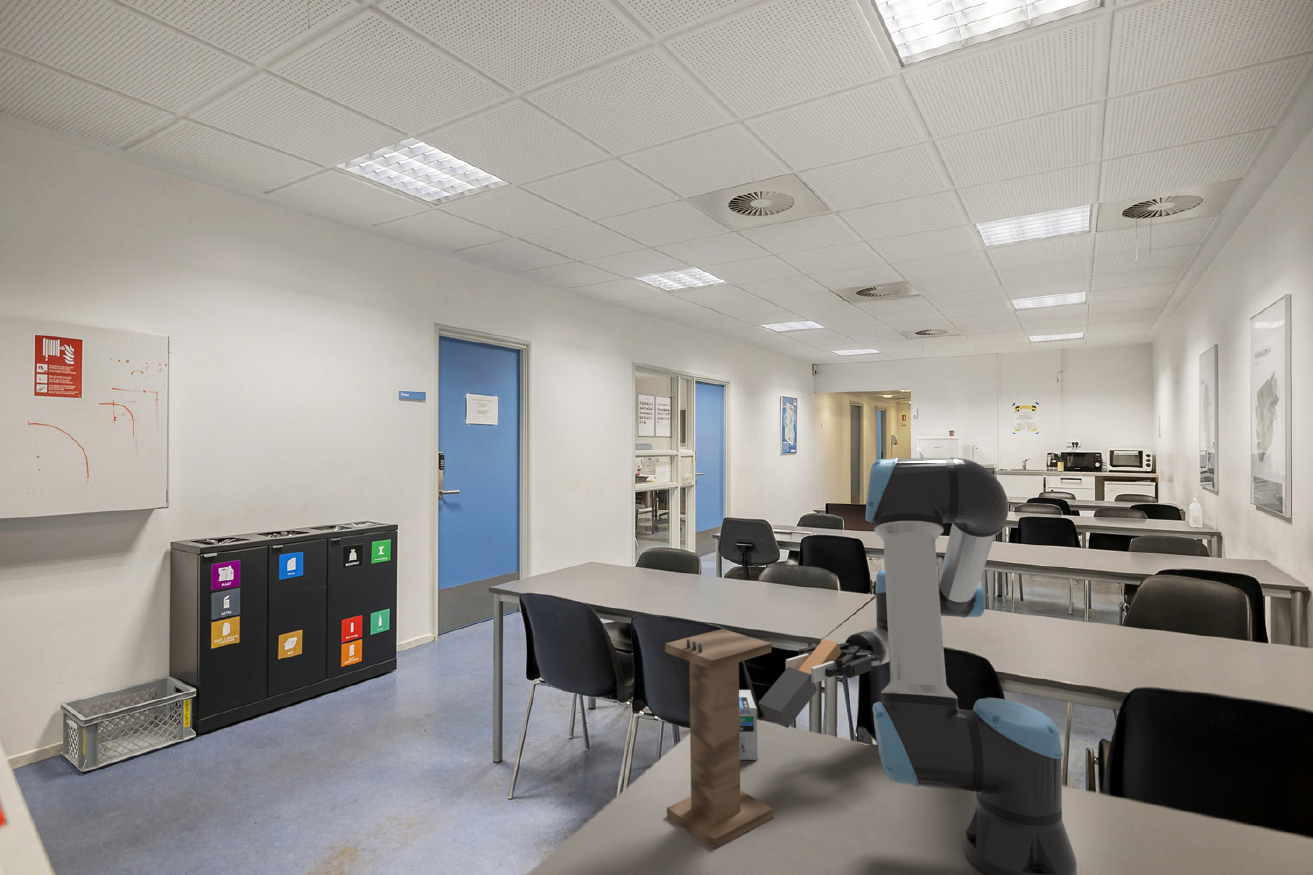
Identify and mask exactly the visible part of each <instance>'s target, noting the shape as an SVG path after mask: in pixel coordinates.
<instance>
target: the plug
mask: <svg viewBox="0 0 1313 875" xmlns="http://www.w3.org/2000/svg"><path fill="white" fill-rule="evenodd" d="M817 645H818V646H817V648H816V649H815V650H814V651H813V652H812V654H811V655H810V656H809V657H808V659H807V660H806V661H805V662H804V663H803V665H802V666H801V667H800V668H799V670H796V669H793V668H790V667H788V668H787V669H786V668H785V670H784V672H783V673H782V674H781V675H780V676H779V677H778V678H777V680H776V681H775V682H774V683H773V685H772V686H770V688H769V689H768V691H767V692H766V693H765V694H764V695H763V697H762V698H761V699H760V700H759V701H758V705H759V708H760V710H761V713H762V714H763V717H764V719H765V720H768V721H770V722H772V723H775V724H777V725H780V726H781V727H784V728H787V729H789V728H790V727H791V725H792V724H793V722H794V721H795V720H796V718H797V717H798V716H799V715H800V713H801V712H802V711H803V710H804V709H805V707H806V706H807V704H808V703H809V702H810V700H811V699H812V698H813V696H815V694H816V693H817V692H818V689H817V685H818V683H819V682H816V683H813V682H811V668H812V667H815V666H818V665H821V664H824V663H827V662H830V661H834V662H835V660H836V658H838V657H839V655H840V654H841V653H842V652H841V650H840V647H839V645H840V644H839V642H837V641H832V640H828V639H822V640H821V642H820V643H819V644H817Z"/></svg>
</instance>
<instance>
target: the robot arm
mask: <svg viewBox="0 0 1313 875" xmlns="http://www.w3.org/2000/svg"><path fill="white" fill-rule="evenodd" d="M868 479H869V480H868V489H867V496H866V507H865V521H866V522H869V523H871V524H872V523H873V526H874V527H873V528H874V533H875V534H876V535H877V536H878V537H879V538H880V539H881V540H882V541H883V552H884V555H883V557H884V569H881V570H879V571H877V574H876V577H875V578H876V579H875V580H876V581H875V607H876V610H875V612H876V620H875V621H876V627H873V628H870V629H866V630H863V631H859V632H856V633H853V634H850V635H849V636H847V638H846V640H845V642H843V643H842V642H841V643H840V644H838V645H839V647H840V650H841V652H842V653H841V654H840V655H839V657H838V658H836V660H835V662H834V661H830V662H827V663H824V664H821V665H818V666H815V667H812V668H811V682H813V683H816V682H818V683H820V682H822V681H825V680H828V679H829V678H833V677H836V676H837V677H842V676H845V677H846V678H848V679H852V678H855V677H858V676H861V675H862V674H866V673H867V672H870V671H874V670H876V671H877V670H879V669H880V665H884V664H886V663H889V678H890V680H889V682H888V684H887V685H886V686H885V687H884V688H883V689H882V690H881V701H877V702H874V703H873V705H872V713H873V723H874V731H875V737H876V738H875V739H876V743H877V748H878V749H877V750H878V754H879V758H880V763H881V766H882V767H881V768H882V770H883V772H884V774H885V776H886V777H887V778H888V779H889V780H890V781H891V782H894V783H899V784H905V785H912V786H914V787H917V788H918V787H926V788H927V787H928V788H937V789H947V790H956V791H957V790H958V791H965V792H966V791H968V792H975V793H976V794H975V803H974V806H973V809H972V812H971V815H970V817H969V820H968V823H967V826H966V829H965V831H964V852H965V854H966V857H967V858H968V859H969V861H970V862H971V864H972V865H973V866H974V867H975V868H977V870H979V871H980V872H982V874H985V875H1077V874H1078V872H1077V863H1078V862H1077V858H1076V854H1075V853H1074V850H1073V847H1072V844H1071V840H1070V838H1069V836H1068V832H1067V830H1066V827H1065V825H1064V822H1063V821H1064V820H1063V810H1062V808H1063V803H1062V802H1063V801H1062V800H1063V797H1062V795H1063V794H1062V792H1063V791H1062V788H1063V787H1062V783H1063V782H1062V759H1063V756H1064V754H1063V751H1062V745H1061V744H1062V742H1061V734H1060V730H1059V727H1058V725H1057V724H1056V723H1055V722H1054V721H1053V720H1052V719H1051V718H1050V717H1049V716H1047V715H1046V714H1045V713H1043V712H1041V711H1039V710H1037V709H1036V708H1035V709H1034V708H1033V707H1031V706H1028V705H1025V704H1023V703H1020V702H1016V701H1012V700H1010V699H1002V698H997V697H986V698H979V699H977V700H975V703H974V705H973V709H971V710H970V709H960V708H959V701H958V700H959V699H958V696H957V695H956V693H954V692H953V690H951V689H950V688H949V686H948V685H947V677H946V676H947V675H946V666H945V664H946V663H945V651H944V642H943V641H944V640H943V628H942V625H943V624H942V617H957V618H959V617H960V618H964V619H966V618H979V617H982V615H983V614H984V612H985V606H986V600H985V599H986V598H985V591H984V587H983V586H982V584H980V581H981V577H983V576H982V575H983V572H984V570H985V566H986V563H987V560H988V557H989V554H990V552H991V549H992V545H993V542H994V538H995V536H996V535H998V534H1000V533H1001V531H1003V529H1004V528H1005V525H1006V522H1007V519H1008V517H1009V516H1008V515H1009V501H1008V497H1007V494H1006V491H1005V489H1004V487H1003V485H1002V484H1001V482H1000V481H999V480H998V479H997V477H996V476H995V475H994V474H993V473H992V472H991V471H990V470H988V469H987V468H986V467H984V466H983V465H982V464H979V463H977V462H975V461H973V460H971V459H966V458H960V457H950V458H945V457H944V458H943V457H940V458H938V457H937V458H936V457H933V458H930V457H927V458H926V457H924V458H923V457H920V458H919V457H918V458H917V457H913V458H911V457H906V458H905V457H901V458H900V457H896V458H883V459H882V458H881V459H877V460H875V461H874V462H873V463H872V464H871V467H870V472H869V478H868ZM944 524H952V525H951V527H950V532H949V537H948V542H947V545H946V549H945V554H944V558H943V561H942V562H943V563H942V567H941V570H940V571H941V572H940V576H938V575H939V574H938V573H939V572H938V562H937V550H936V541H937V539H938V538H939V537H940V536H941V535H942V534H943V533H944V528H945V527H944ZM818 645H819V644H816V645H811V646H807V647H804V648H799V649H798V655H797V656H794V657H791V658H787V659H785V670H786V669H787V668H788V667H790V668H793V669H796V670H799V668H800V667H801V666H802V665H803V663H804V662H805V661H806V660H807V659H808V657H809V656H810V655H811V654H812V652H813V651H814V650H815V649H816V648H817V646H818Z"/></svg>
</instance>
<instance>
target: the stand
mask: <svg viewBox="0 0 1313 875" xmlns="http://www.w3.org/2000/svg"><path fill="white" fill-rule="evenodd" d="M664 652H665V653H666V654H670V655H671V656H674V657H678V658H679V659H682V660H685V661H688V663H689V728H690V729H689V732H690V733H689V734H690V738H689V739H690V745H689V746H690V796H689V797H687V798H685V799H683V800H680V801H678V802H676V803H674V804H672V805H669V806H667V807H666V817H667V818H668V819H670V820H671V821H673V822H675V824H678V825H679V826H681V827H682V828H684V830H686V831H687V832H689V833H691V834H693V836H695V837H696V838H697V839H698V838H699V840H701V841H702V842H704V843H705V844H706V845H708V846H710V847H711V848H713V849H716V848H719V847H720V846H722V845H724V844H726V843H728V842H730V841H732V840H734V839H735V838H738V837H739V836H742V835H743V834H745V833H746V832H748V831H750V830H753V829H754V828H756V827H758V826H760V825H762V824H764V823H766V822H767V821H770V820H771V819H773V818H774V808H773V807H772V806H770V805H767V804H766V803H764V802H762V801H760V800H758V799H757V798H756V797H753V796H751V795H750V794H748V793H746V792H744V791H742V790H741V760H740V727H739V690H740V670H739V669H740V662H744V661H746V660H751V659H754V658H756V657H760V656H764V655H767V654H770V653H772V643H771V642H767V641H764V640H761V639H758V638H755V637H751V636H748V635H745V634H741V633H738V632H734V631H731V630H728V629H724V628H721V629H716V630H712V631H710V632H709V631H708V632H705V633H701V634H697V635H692V636H690V637H684V638H682V639H681V638H680V639H676V640H674V641H669V642H665V643H664ZM737 836H738V837H737Z"/></svg>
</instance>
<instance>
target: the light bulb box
mask: <svg viewBox="0 0 1313 875" xmlns="http://www.w3.org/2000/svg"><path fill="white" fill-rule="evenodd" d="M755 703H756V702H755V700H754V698H753V694H752V690H751V689H739V727H740V761H748V760H749V761H757V760H759V759H758V708H757V705H756V704H755Z"/></svg>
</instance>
